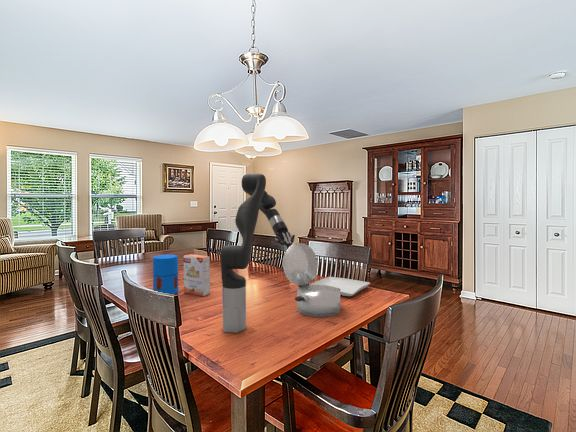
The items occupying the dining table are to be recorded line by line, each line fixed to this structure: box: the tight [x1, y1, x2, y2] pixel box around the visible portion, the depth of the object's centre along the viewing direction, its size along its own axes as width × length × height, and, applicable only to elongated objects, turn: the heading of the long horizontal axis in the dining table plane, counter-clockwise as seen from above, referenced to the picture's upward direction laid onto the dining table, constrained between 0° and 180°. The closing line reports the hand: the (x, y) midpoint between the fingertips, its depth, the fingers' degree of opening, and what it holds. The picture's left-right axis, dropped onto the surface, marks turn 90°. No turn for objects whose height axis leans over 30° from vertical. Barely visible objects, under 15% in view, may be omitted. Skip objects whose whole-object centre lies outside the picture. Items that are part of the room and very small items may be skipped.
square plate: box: [310, 276, 371, 297], centre depth 181 cm, size 27×27×4 cm
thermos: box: [152, 254, 180, 297], centre depth 146 cm, size 11×11×25 cm
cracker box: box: [183, 253, 211, 297], centre depth 172 cm, size 14×6×21 cm, turn 62°
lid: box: [282, 242, 318, 288], centre depth 158 cm, size 22×21×2 cm
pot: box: [294, 284, 341, 318], centre depth 148 cm, size 20×26×9 cm
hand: (291, 250), depth 164 cm, fingers closed
